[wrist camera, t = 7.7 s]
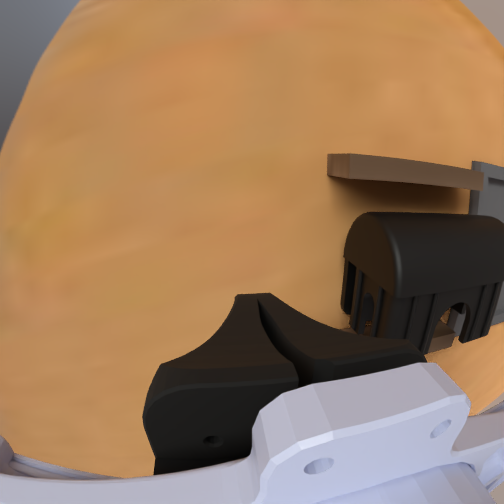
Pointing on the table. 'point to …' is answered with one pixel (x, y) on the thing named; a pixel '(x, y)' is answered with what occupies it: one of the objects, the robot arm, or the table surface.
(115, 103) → the table surface
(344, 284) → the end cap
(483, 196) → the tray
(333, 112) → the table surface
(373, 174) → the channel walls
